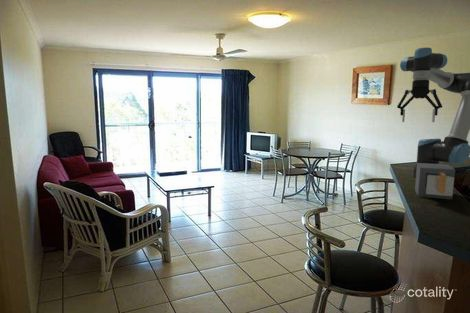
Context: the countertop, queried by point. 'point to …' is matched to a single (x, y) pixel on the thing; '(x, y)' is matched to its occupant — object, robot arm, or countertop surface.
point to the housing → (432, 169)
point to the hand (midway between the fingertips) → (417, 122)
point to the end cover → (439, 184)
